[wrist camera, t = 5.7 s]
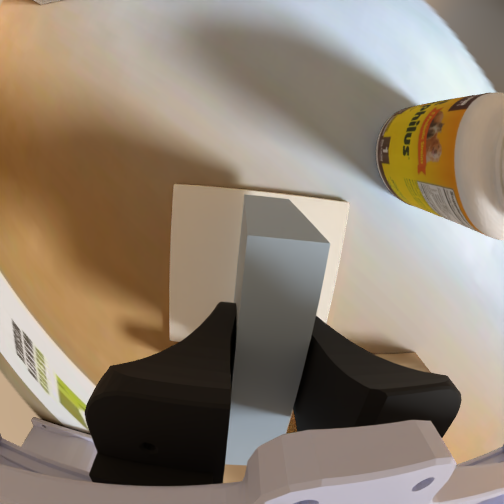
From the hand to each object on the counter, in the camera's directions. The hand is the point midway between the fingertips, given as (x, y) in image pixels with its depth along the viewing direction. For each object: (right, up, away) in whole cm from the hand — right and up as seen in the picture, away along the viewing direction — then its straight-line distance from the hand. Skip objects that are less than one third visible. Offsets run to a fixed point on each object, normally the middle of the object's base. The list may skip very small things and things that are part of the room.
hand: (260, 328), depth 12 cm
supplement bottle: (+9, +8, +4) cm, 13 cm away
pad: (0, +2, +5) cm, 6 cm away
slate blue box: (0, +1, +4) cm, 4 cm away
